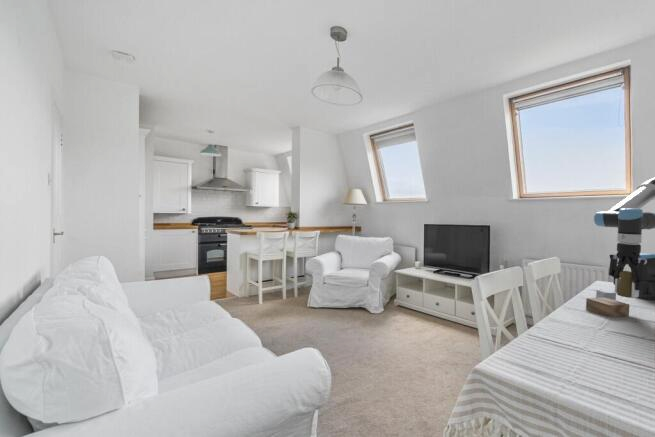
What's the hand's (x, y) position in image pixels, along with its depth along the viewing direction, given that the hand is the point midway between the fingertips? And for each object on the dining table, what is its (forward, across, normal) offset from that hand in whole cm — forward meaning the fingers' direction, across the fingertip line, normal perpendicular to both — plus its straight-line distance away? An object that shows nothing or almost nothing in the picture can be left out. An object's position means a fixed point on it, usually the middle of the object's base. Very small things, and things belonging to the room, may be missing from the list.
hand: (626, 294), depth 134 cm
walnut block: (+8, -1, -9) cm, 12 cm away
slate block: (+8, -12, +4) cm, 15 cm away
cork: (+1, 0, 0) cm, 1 cm away
